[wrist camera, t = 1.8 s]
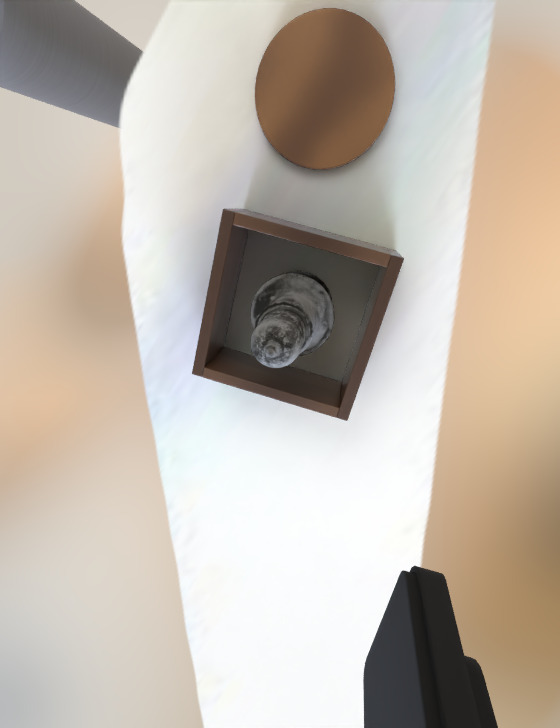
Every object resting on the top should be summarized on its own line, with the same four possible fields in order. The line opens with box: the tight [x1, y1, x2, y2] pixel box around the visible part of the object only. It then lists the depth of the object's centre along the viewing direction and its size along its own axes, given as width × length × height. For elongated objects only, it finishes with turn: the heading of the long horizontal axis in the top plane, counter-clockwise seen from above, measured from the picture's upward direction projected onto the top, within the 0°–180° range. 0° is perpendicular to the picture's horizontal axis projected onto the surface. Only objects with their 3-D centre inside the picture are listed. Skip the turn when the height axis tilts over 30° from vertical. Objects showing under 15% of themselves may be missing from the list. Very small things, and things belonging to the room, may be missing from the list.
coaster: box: [255, 8, 395, 170], centre depth 28 cm, size 9×9×1 cm
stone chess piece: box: [250, 271, 334, 368], centre depth 28 cm, size 6×6×12 cm
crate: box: [192, 209, 404, 421], centre depth 31 cm, size 12×12×5 cm
